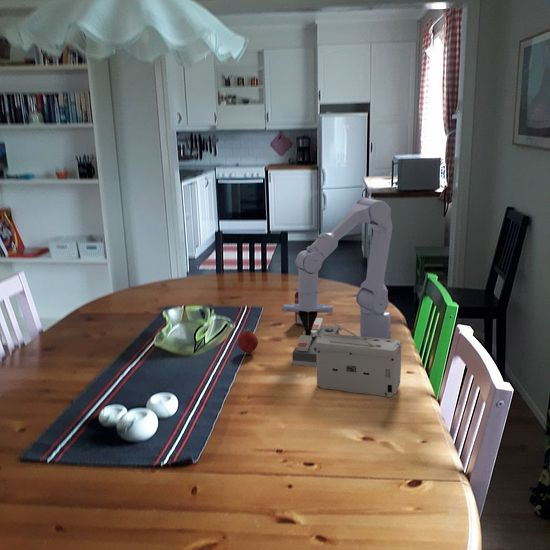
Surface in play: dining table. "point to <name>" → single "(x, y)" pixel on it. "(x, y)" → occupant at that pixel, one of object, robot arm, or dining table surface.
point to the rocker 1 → (304, 343)
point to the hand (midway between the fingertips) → (308, 335)
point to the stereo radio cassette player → (358, 363)
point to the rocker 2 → (317, 324)
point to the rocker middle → (312, 333)
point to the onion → (248, 342)
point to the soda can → (297, 318)
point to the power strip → (311, 349)
